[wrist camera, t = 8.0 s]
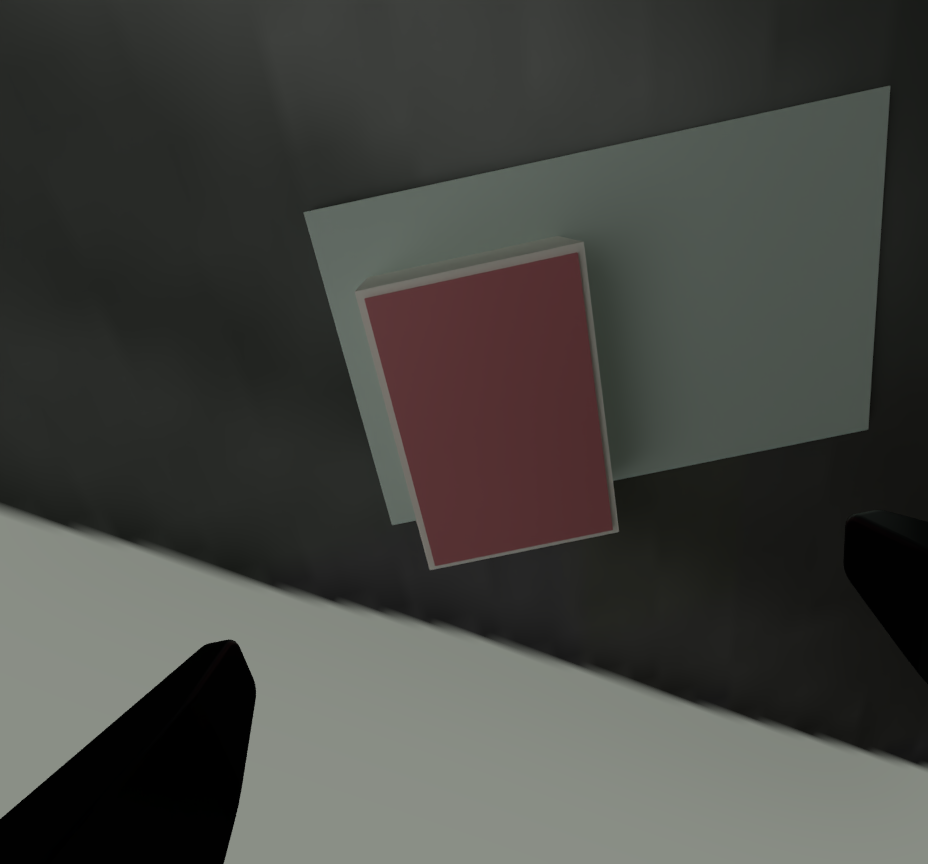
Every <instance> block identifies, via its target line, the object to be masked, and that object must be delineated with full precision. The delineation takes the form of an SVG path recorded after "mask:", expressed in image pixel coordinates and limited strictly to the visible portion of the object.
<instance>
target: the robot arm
mask: <svg viewBox="0 0 928 864" xmlns="http://www.w3.org/2000/svg"><path fill="white" fill-rule="evenodd" d="M844 569H845V572H846V575H847V577H848V579H849V580H850V582H851V584H852V585H853V586H854V588H855V589H856V590H857V592H858V593H859V594H860V596H861V597H862V598H863V600H864V601H865V603H866V604H867V605H868V607H869V608H870V609H871V611H872V612H873V613H874V615H875V616H876V618H877V619H878V620H879V622H880V623H881V624H882V626H883V627H884V628H885V630H886V631H887V633H888V634H889V635H890V637H891V638H892V639H893V641H894V642H895V643H896V645H897V646H898V648H899V649H900V650H901V652H902V653H903V654H904V656H905V657H906V658H907V660H908V661H909V662H910V663H911V665H912V666H913V667H914V669H915V670H916V671H917V672H918V674H919V675H920V676H921V677H922V678H923V679H924V681H925V682H926V683H927V684H928V522H926V521H922V520H918V519H915V518H911V517H907V516H903V515H899V514H895V513H891V512H887V511H883V510H874V511H869V512H864V513H859V514H854V515H852V516H850V517H849V518H848V519H847V521H846V525H845V542H844ZM255 699H256V688H255V682H254V679H253V677H252V675H251V672H250V670H249V668H248V665H247V663H246V661H245V659H244V656H243V654H242V652H241V649H240V647H239V645H238V644H237V643H236V642H235V641H233V640H224V641H219V642H214V643H209V644H206V645H204V646H203V647H201V648H200V649H199V650H198V651H197V652H196V653H194V654H193V655H192V656H191V657H190V658H188V659H187V660H186V661H185V662H184V663H183V664H181V665H180V666H179V667H178V668H177V669H176V670H174V671H173V672H172V673H171V674H170V675H169V676H167V677H166V678H165V679H164V680H163V681H162V682H160V683H159V684H158V685H157V686H156V687H154V689H152V690H151V691H150V692H149V693H147V694H146V695H145V696H144V697H143V698H142V699H140V700H139V701H138V702H137V703H136V704H135V705H134V706H132V707H131V708H130V709H129V710H128V711H126V712H125V713H124V714H123V715H122V716H121V717H119V718H118V719H117V720H116V721H115V722H113V723H112V724H111V725H110V726H109V727H108V728H106V729H105V730H104V731H103V732H102V733H101V734H99V735H98V736H97V737H96V738H95V739H94V740H93V741H91V742H90V743H89V744H88V745H87V746H85V747H84V748H83V749H82V750H81V751H80V752H78V753H77V754H76V755H75V756H74V757H73V758H71V759H70V760H69V761H68V762H67V763H65V765H63V766H62V767H61V768H60V769H58V770H57V771H56V772H55V773H54V774H53V775H51V776H50V777H49V778H48V779H47V780H46V781H44V782H43V783H42V784H41V785H40V786H38V788H36V789H35V790H34V791H33V792H32V793H31V794H29V795H28V796H27V797H26V798H25V799H23V800H22V801H21V802H20V803H19V804H17V805H16V806H15V807H14V808H13V809H12V810H10V811H9V812H8V813H7V814H6V815H5V816H3V817H2V818H1V819H0V864H223V863H224V860H225V856H226V852H227V848H228V845H229V840H230V837H231V833H232V829H233V825H234V821H235V817H236V813H237V808H238V805H239V799H240V794H241V788H242V783H243V776H244V770H245V763H246V757H247V750H248V744H249V738H250V731H251V725H252V718H253V711H254V706H255Z"/></svg>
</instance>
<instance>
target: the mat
mask: <svg viewBox="0 0 928 864" xmlns="http://www.w3.org/2000/svg"><path fill="white" fill-rule="evenodd" d="M889 99H890V86H886V87H881V88H876V89H872V90H867V91H862V92H858V93H853V94H849V95H844V96H839V97H835V98H830V99H825V100H821V101H816V102H812V103H807V104H802V105H798V106H793V107H788V108H784V109H779V110H775V111H770V112H765V113H761V114H756V115H751V116H747V117H742V118H738V119H733V120H728V121H724V122H719V123H714V124H710V125H705V126H701V127H696V128H691V129H687V130H682V131H677V132H673V133H668V134H664V135H659V136H654V137H650V138H645V139H640V140H636V141H631V142H627V143H622V144H617V145H613V146H608V147H603V148H599V149H594V150H590V151H585V152H580V153H576V154H571V155H566V156H562V157H557V158H553V159H548V160H543V161H539V162H534V163H530V164H525V165H520V166H516V167H511V168H506V169H502V170H497V171H493V172H488V173H483V174H479V175H474V176H469V177H465V178H460V179H456V180H451V181H446V182H442V183H437V184H432V185H428V186H423V187H419V188H414V189H409V190H405V191H400V192H395V193H391V194H386V195H382V196H377V197H372V198H368V199H363V200H358V201H354V202H349V203H345V204H340V205H335V206H331V207H326V208H321V209H317V210H312V211H308V212H304V216H305V219H306V223H307V226H308V230H309V233H310V237H311V241H312V244H313V248H314V251H315V255H316V258H317V262H318V265H319V269H320V272H321V276H322V279H323V283H324V286H325V290H326V293H327V297H328V301H329V304H330V308H331V311H332V315H333V318H334V322H335V325H336V329H337V332H338V336H339V339H340V343H341V346H342V350H343V354H344V357H345V361H346V364H347V368H348V371H349V375H350V378H351V382H352V385H353V389H354V392H355V396H356V399H357V403H358V406H359V410H360V414H361V417H362V421H363V424H364V428H365V431H366V435H367V438H368V442H369V445H370V449H371V452H372V456H373V459H374V463H375V466H376V470H377V474H378V477H379V481H380V484H381V488H382V491H383V495H384V498H385V502H386V505H387V509H388V512H389V516H390V519H391V523H392V525H396V524H401V523H406V522H411V521H416V517H415V514H414V510H413V506H412V502H411V499H410V495H409V491H408V488H407V484H406V480H405V477H404V473H403V469H402V465H401V462H400V458H399V454H398V451H397V447H396V443H395V440H394V436H393V432H392V429H391V425H390V421H389V417H388V414H387V410H386V406H385V403H384V399H383V395H382V392H381V388H380V384H379V380H378V377H377V373H376V369H375V366H374V362H373V358H372V355H371V351H370V347H369V343H368V340H367V336H366V332H365V329H364V325H363V321H362V318H361V314H360V310H359V306H358V303H357V299H356V295H355V291H356V289H357V288H358V287H359V286H360V285H361V284H362V283H363V282H364V281H365V280H366V279H367V278H368V277H371V276H376V275H381V274H385V273H390V272H394V271H399V270H404V269H408V268H413V267H417V266H422V265H427V264H431V263H436V262H440V261H445V260H449V259H454V258H459V257H463V256H468V255H472V254H477V253H482V252H486V251H491V250H495V249H500V248H504V247H509V246H514V245H518V244H523V243H527V242H532V241H537V240H541V239H546V238H550V237H555V236H561V237H565V238H570V239H574V240H578V241H583V242H584V248H585V256H586V264H587V272H588V281H589V289H590V297H591V305H592V313H593V322H594V330H595V338H596V346H597V354H598V363H599V371H600V379H601V387H602V395H603V404H604V412H605V420H606V428H607V436H608V445H609V453H610V461H611V469H612V477H613V481H615V480H620V479H625V478H630V477H635V476H640V475H645V474H650V473H655V472H659V471H664V470H669V469H674V468H679V467H684V466H689V465H694V464H699V463H704V462H709V461H714V460H719V459H724V458H729V457H734V456H739V455H744V454H749V453H754V452H759V451H764V450H769V449H774V448H779V447H784V446H789V445H794V444H799V443H804V442H809V441H814V440H819V439H824V438H829V437H834V436H839V435H844V434H849V433H854V432H859V431H864V430H868V426H869V410H870V395H871V379H872V363H873V348H874V332H875V317H876V301H877V286H878V270H879V255H880V239H881V224H882V208H883V192H884V177H885V161H886V146H887V130H888V115H889Z"/></svg>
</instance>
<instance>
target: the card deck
mask: <svg viewBox="0 0 928 864" xmlns="http://www.w3.org/2000/svg"><path fill="white" fill-rule="evenodd" d="M355 295H356V299H357V303H358V306H359V310H360V314H361V318H362V321H363V325H364V329H365V332H366V336H367V340H368V343H369V347H370V351H371V355H372V358H373V362H374V366H375V369H376V373H377V377H378V380H379V384H380V388H381V392H382V395H383V399H384V403H385V406H386V410H387V414H388V417H389V421H390V425H391V429H392V432H393V436H394V440H395V443H396V447H397V451H398V454H399V458H400V462H401V465H402V469H403V473H404V477H405V480H406V484H407V488H408V491H409V495H410V499H411V502H412V506H413V510H414V514H415V517H416V521H417V525H418V528H419V532H420V536H421V539H422V543H423V547H424V551H425V554H426V558H427V562H428V565H429V569H430V570H434V569H439V568H444V567H448V566H453V565H458V564H463V563H468V562H473V561H478V560H483V559H488V558H493V557H498V556H503V555H508V554H513V553H517V552H522V551H527V550H532V549H537V548H542V547H547V546H552V545H557V544H562V543H567V542H572V541H577V540H582V539H586V538H591V537H596V536H601V535H606V534H611V533H616V532H619V527H618V518H617V510H616V502H615V494H614V486H613V477H612V469H611V461H610V453H609V445H608V436H607V428H606V420H605V412H604V404H603V395H602V387H601V379H600V371H599V363H598V354H597V346H596V338H595V330H594V322H593V313H592V305H591V297H590V289H589V281H588V272H587V264H586V256H585V248H584V242H583V241H578V240H574V239H570V238H565V237H561V236H555V237H550V238H546V239H541V240H537V241H532V242H527V243H523V244H518V245H514V246H509V247H504V248H500V249H495V250H491V251H486V252H482V253H477V254H472V255H468V256H463V257H459V258H454V259H449V260H445V261H440V262H436V263H431V264H427V265H422V266H417V267H413V268H408V269H404V270H399V271H394V272H390V273H385V274H381V275H376V276H371V277H368V278H367V279H366V280H365V281H364V282H363V283H362V284H361V285H360V286H359V287H358V288H357V289H356V291H355Z"/></svg>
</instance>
